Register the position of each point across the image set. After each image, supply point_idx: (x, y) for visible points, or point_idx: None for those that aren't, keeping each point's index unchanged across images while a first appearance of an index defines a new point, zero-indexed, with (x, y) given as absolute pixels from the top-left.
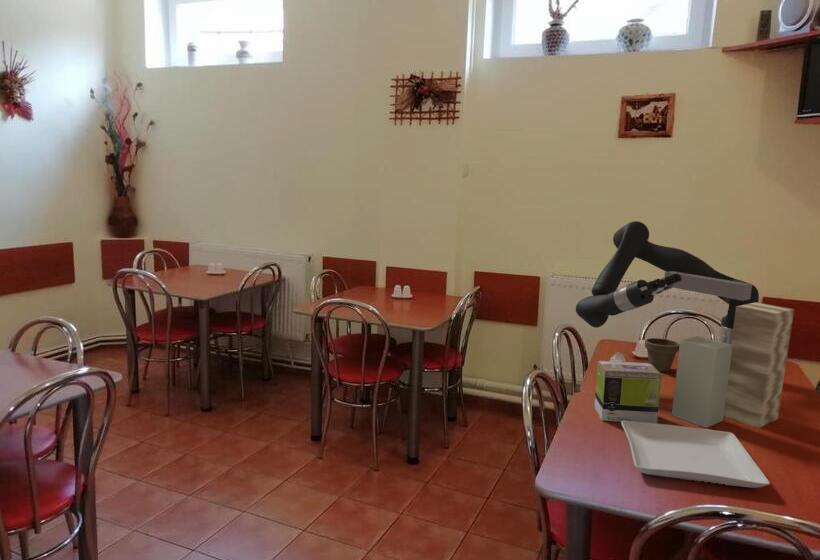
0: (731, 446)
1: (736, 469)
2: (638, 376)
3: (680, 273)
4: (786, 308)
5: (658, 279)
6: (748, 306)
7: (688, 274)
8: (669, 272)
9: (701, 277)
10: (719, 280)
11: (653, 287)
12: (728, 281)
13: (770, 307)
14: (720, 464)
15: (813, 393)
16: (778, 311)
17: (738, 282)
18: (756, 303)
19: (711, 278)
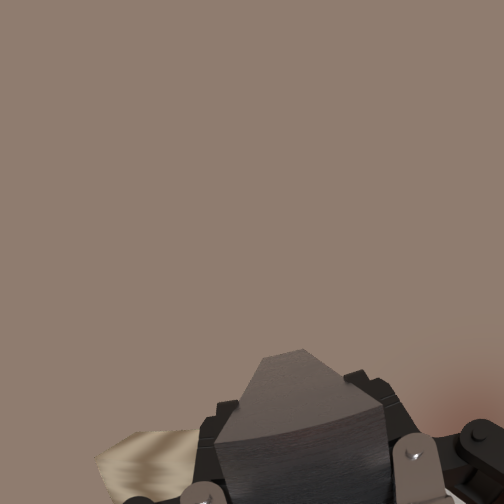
0: None
1: (446, 490)
2: None
3: (287, 398)
4: (138, 435)
5: (479, 422)
6: (177, 454)
7: (272, 389)
8: (347, 403)
9: (301, 367)
10: (296, 358)
11: (497, 495)
12: (285, 358)
13: (149, 442)
14: (455, 498)
15: None
16: (191, 431)
17: (271, 359)
18: (111, 456)
19: (280, 367)
